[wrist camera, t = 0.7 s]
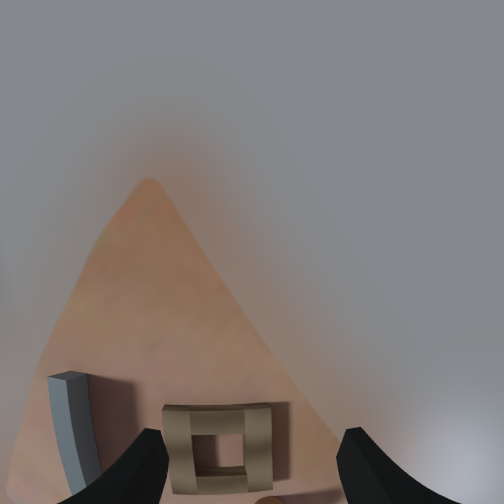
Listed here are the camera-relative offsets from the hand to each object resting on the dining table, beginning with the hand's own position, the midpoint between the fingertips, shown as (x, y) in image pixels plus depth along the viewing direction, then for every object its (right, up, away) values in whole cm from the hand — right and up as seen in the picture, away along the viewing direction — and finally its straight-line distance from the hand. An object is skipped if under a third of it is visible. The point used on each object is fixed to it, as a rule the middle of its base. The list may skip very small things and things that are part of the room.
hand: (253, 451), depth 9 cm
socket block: (-4, -16, +18) cm, 25 cm away
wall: (-21, -17, +15) cm, 31 cm away
